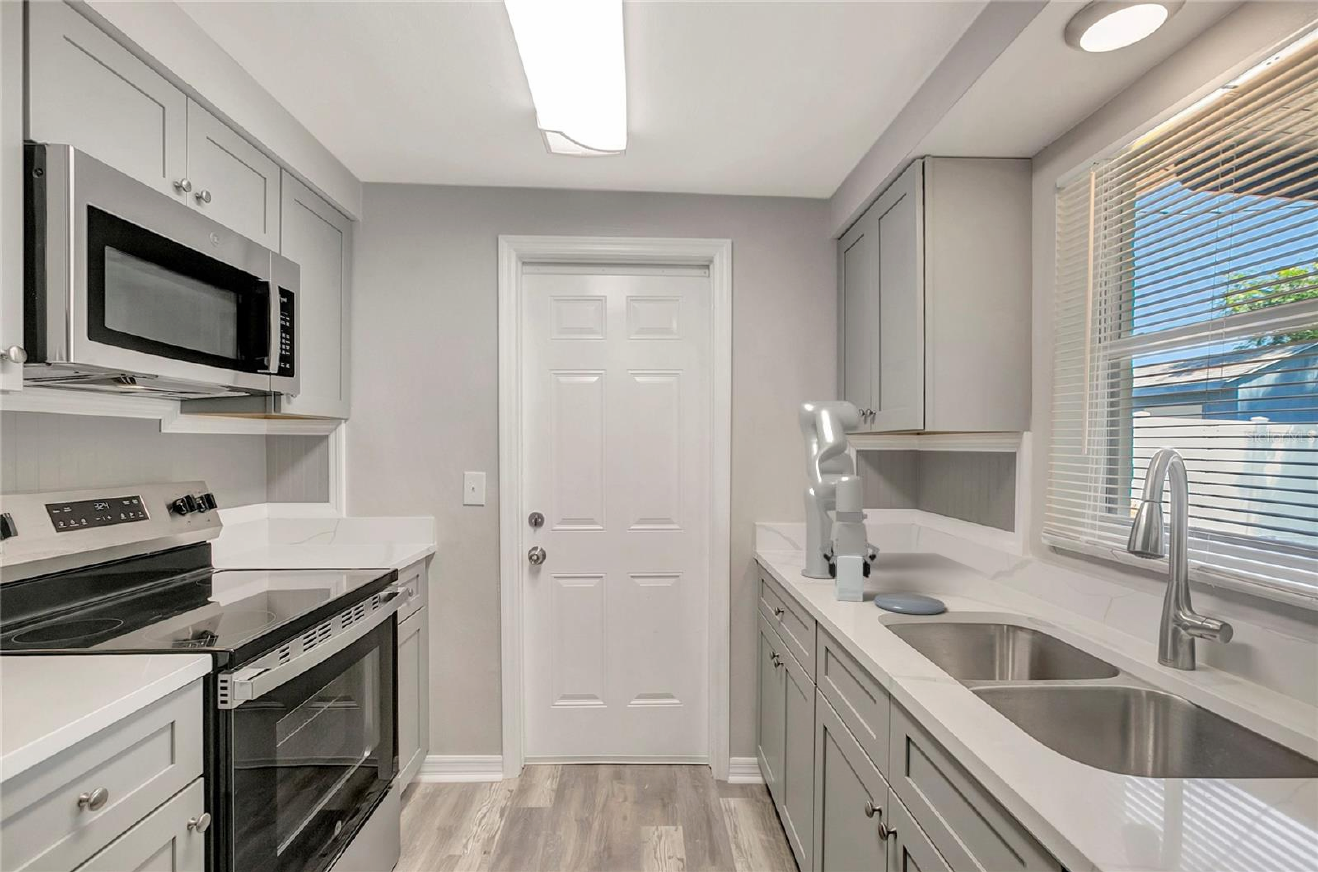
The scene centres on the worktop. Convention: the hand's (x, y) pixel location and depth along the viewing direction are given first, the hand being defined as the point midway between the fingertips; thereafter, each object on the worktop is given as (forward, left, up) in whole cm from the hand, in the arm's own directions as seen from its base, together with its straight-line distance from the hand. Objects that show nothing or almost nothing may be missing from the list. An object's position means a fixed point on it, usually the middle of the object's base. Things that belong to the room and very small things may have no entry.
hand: (849, 576), depth 182 cm
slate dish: (+8, +14, -6) cm, 18 cm away
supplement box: (-1, 0, -7) cm, 7 cm away
